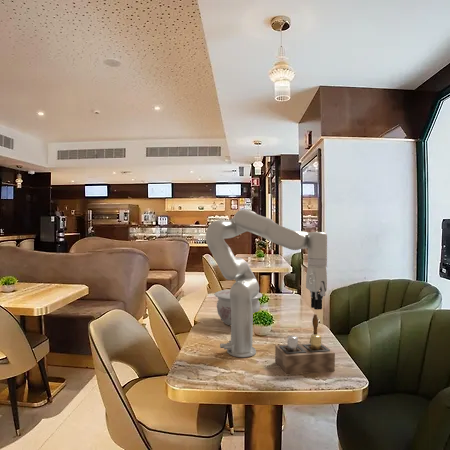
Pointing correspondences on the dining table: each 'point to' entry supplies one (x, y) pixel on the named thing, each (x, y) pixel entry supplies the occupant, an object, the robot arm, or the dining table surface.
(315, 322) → the hand bell
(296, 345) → the steel plunger
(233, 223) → the robot arm
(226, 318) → the chamber pot
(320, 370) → the walnut block
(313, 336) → the brass plunger
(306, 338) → the dining table surface
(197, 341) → the dining table surface
